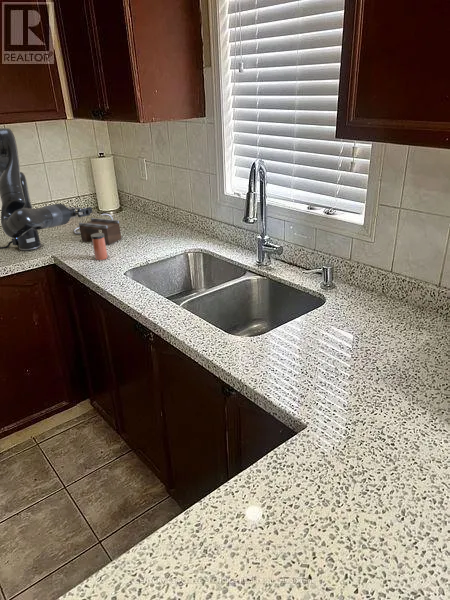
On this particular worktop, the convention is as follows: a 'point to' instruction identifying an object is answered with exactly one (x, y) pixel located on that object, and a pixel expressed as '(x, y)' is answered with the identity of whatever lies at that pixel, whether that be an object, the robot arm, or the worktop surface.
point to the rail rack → (107, 227)
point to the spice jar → (99, 246)
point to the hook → (79, 228)
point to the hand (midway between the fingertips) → (81, 209)
